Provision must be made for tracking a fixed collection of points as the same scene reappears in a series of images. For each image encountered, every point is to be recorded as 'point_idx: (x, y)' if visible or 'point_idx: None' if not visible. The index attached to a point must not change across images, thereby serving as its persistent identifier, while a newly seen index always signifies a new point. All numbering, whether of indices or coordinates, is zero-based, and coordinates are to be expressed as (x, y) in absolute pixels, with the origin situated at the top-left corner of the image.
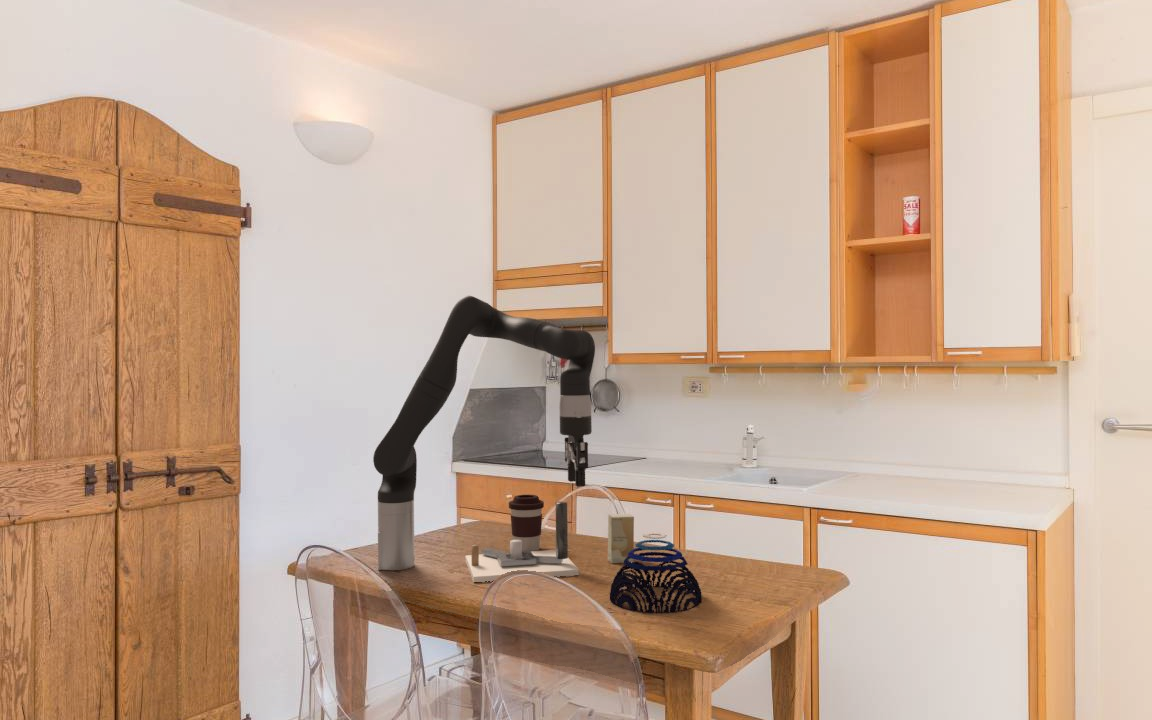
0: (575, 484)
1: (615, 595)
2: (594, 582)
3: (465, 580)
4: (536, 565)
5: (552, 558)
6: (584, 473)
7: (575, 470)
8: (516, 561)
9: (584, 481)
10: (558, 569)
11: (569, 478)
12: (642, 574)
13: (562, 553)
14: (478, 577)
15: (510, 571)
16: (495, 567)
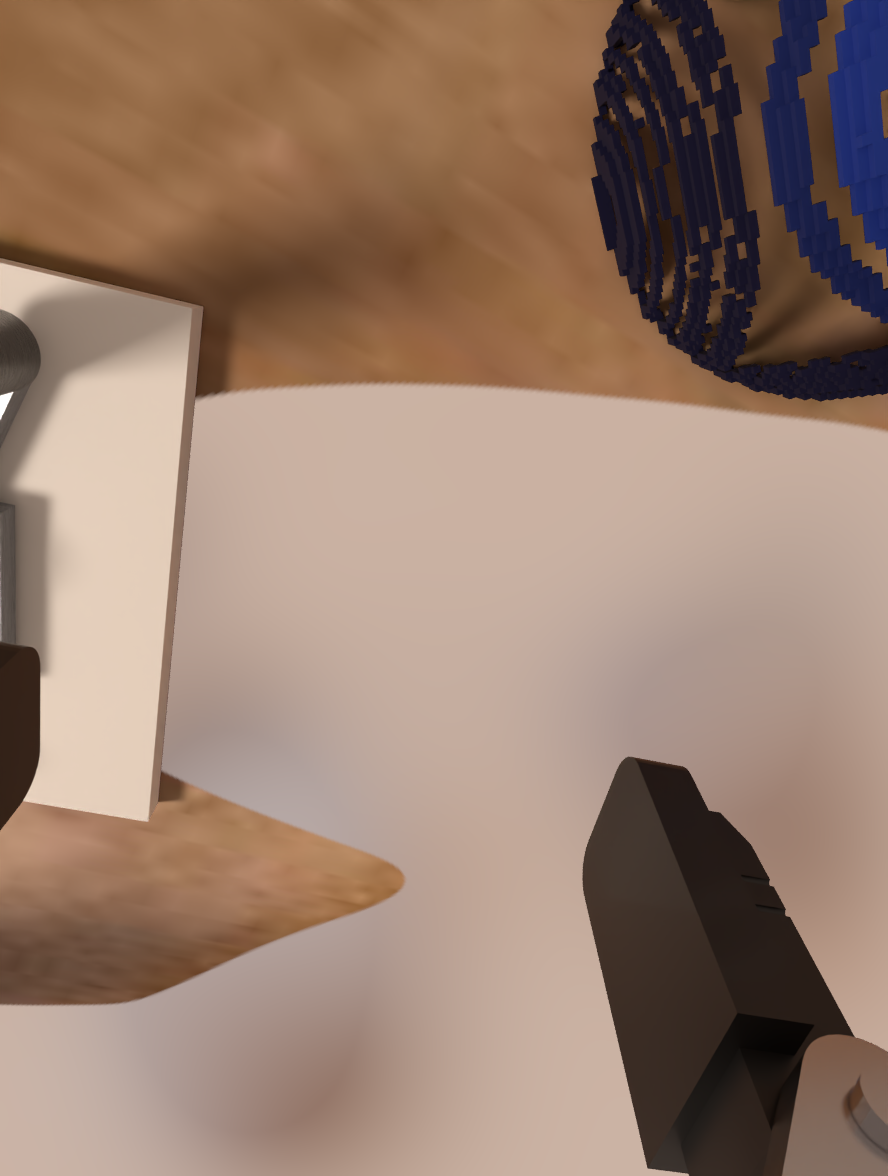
0: (592, 894)
1: (825, 399)
2: (379, 288)
3: (101, 816)
4: (17, 501)
5: (3, 416)
6: (772, 961)
7: (672, 1170)
8: (5, 620)
9: (703, 822)
10: (148, 423)
11: (5, 804)
12: (641, 22)
13: (20, 368)
14: (151, 801)
15: (106, 662)
16: None
